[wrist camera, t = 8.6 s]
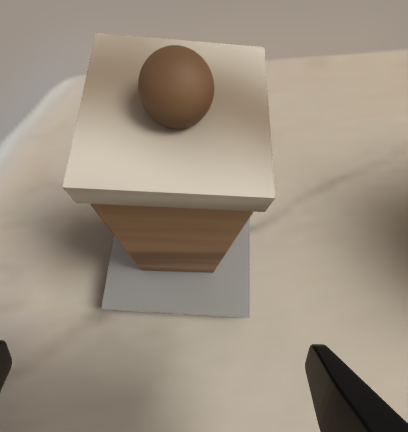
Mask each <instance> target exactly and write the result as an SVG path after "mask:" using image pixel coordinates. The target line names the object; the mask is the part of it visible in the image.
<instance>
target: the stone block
mask: <svg viewBox="0 0 408 432" xmlns="http://www.w3.org/2000/svg"><path fill="white" fill-rule="evenodd" d="M101 309H104V310H117V311H134V312H151V313H168V314H186V315H203V316H220V317H237V318H249V219H248V221H247V222H246V224H245V225H244V227H243V228H242V230H241V231H240V233H239V234H238V236H237V237H236V239H235V240H234V242H233V243H232V245H231V247H230V248H229V250H228V251H227V253H226V254H225V256H224V257H223V259H222V260H221V262H220V263H219V265H218V266H217V268H216V269H215V271H214V272H213V273H204V272H174V271H144V270H141V269H140V267H139V266H138V265H137V264H136V262H135V261H134V260H133V258H132V257H131V256H130V255H129V253H128V252H127V251H126V249H125V248H124V247H123V246H122V244H121V243H120V242H119V240H118V239H117V238H116V237H115V235H114V236H113V242H112V248H111V254H110V260H109V266H108V272H107V278H106V284H105V289H104V295H103V301H102V307H101Z"/></svg>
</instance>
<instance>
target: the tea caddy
mask: <svg viewBox="0 0 408 432" xmlns="http://www.w3.org/2000/svg"><path fill="white" fill-rule="evenodd" d="M63 189H64V190H65V191H66V192H67V193H68V194H69V195H70V196H71V198H72V199H73V200H74V201H75V202H76V203H88V204H91V206H92V207H93V208H94V209H95V211H96V212H97V213H98V215H99V216H100V217H101V218H102V220H103V221H104V222H105V224H106V225H107V226H108V227H109V229H110V230H111V231H112V233H113V234H114V235H115V237H116V238H117V239H118V240H119V242H120V243H121V244H122V246H123V247H124V248H125V249H126V251H127V252H128V253H129V255H130V256H131V257H132V258H133V260H134V261H135V262H136V264H137V265H138V266H139V267H140V269H141V270H144V271H174V272H204V273H213V272H214V271H215V269H216V268H217V266H218V265H219V263H220V262H221V260H222V259H223V257H224V256H225V254H226V253H227V251H228V250H229V248H230V247H231V245H232V243H233V242H234V240H235V239H236V237H237V236H238V234H239V233H240V231H241V230H242V228H243V227H244V225H245V224H246V222H247V221H248V219H249V218H250V216H251V215H252V213H253V212H254V211H256V212H265V211H266V210H267V208H268V207H269V206H270V204H271V203H272V202H273V200H274V199H275V188H274V174H273V161H272V147H271V133H270V120H269V106H268V92H267V79H266V65H265V52H264V47H254V46H243V45H232V44H220V43H208V42H196V41H184V40H172V39H160V38H148V37H136V36H125V35H113V34H101V33H96V35H95V39H94V44H93V48H92V53H91V58H90V62H89V67H88V71H87V76H86V81H85V85H84V90H83V95H82V99H81V104H80V108H79V113H78V118H77V122H76V127H75V131H74V136H73V141H72V145H71V150H70V154H69V159H68V164H67V168H66V173H65V178H64V182H63Z"/></svg>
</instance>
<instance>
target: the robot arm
mask: <svg viewBox="0 0 408 432" xmlns="http://www.w3.org/2000/svg"><path fill="white" fill-rule="evenodd" d="M11 365H12V358H11V355H10V353H9V350H8V347H7V344H6V342H5V341H3V340H0V391H1V389H2V387H3V384H4V382H5V380H6V378H7V375H8V373H9V371H10V368H11ZM305 369H306V374H307V379H308V383H309V387H310V391H311V395H312V400H313V404H314V408H315V412H316V416H317V420H318V424H319V428H320V431H321V432H408V423H407V422H406V421H405V420H404V419H403V418H401V417H400V416H399V415H398V414H397V413H396V412H395V411H394V410H393V409H392V408H391V407H390V406H389V405H388V404H387V403H386V402H385V401H384V400H383V399H382V398H381V397H379V396H378V395H377V394H376V393H375V392H374V391H373V390H372V389H371V388H370V387H369V386H368V385H367V384H366V383H365V382H364V381H363V380H362V379H361V378H360V377H358V376H357V375H356V374H355V373H354V372H353V371H352V370H351V369H350V368H349V367H348V366H347V365H346V364H345V363H344V362H343V361H342V360H341V359H340V358H339V357H338V356H336V355H335V354H334V353H333V352H332V351H331V350H330V349H329V348H328V347H327V346H325V345H323V344H312V345H311V346H310V348H309V351H308V355H307V359H306V362H305Z"/></svg>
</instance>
